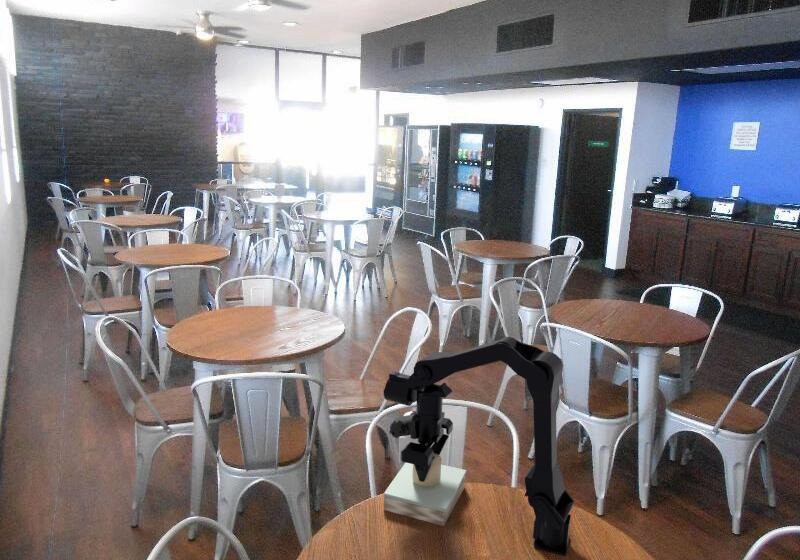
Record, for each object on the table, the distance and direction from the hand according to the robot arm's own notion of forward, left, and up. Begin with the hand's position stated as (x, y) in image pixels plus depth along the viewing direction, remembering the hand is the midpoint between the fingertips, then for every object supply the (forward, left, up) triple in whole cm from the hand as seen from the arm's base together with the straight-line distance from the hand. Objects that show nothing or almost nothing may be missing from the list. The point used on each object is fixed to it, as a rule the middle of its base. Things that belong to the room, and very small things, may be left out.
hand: (426, 473), depth 134 cm
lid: (0, 0, -3) cm, 3 cm away
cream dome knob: (0, 0, -1) cm, 1 cm away
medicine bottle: (+9, -16, -6) cm, 20 cm away
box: (0, 0, -6) cm, 6 cm away
